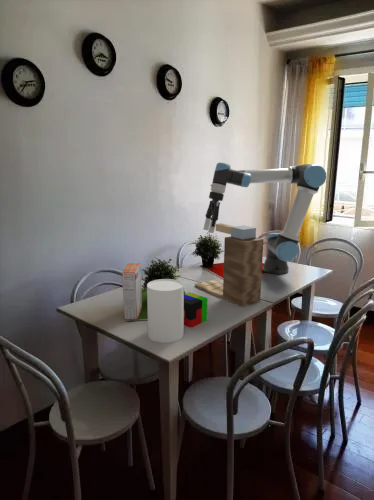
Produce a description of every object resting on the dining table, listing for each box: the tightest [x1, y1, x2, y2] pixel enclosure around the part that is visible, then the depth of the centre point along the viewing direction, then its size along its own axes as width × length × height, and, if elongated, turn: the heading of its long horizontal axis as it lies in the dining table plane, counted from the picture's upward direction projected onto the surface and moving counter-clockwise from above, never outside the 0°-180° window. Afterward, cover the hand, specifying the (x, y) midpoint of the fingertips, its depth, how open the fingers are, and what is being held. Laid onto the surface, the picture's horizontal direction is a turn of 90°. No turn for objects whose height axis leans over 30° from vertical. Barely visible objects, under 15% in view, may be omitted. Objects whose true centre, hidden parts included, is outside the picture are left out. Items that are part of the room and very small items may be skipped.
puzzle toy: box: [184, 292, 208, 329], centre depth 155 cm, size 10×10×10 cm
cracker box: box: [121, 262, 143, 321], centre depth 161 cm, size 14×6×21 cm, turn 178°
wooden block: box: [222, 236, 264, 308], centre depth 177 cm, size 12×13×30 cm
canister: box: [146, 278, 185, 344], centre depth 142 cm, size 14×14×20 cm
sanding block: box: [215, 222, 257, 241], centre depth 178 cm, size 8×22×5 cm, turn 35°
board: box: [194, 279, 223, 299], centre depth 194 cm, size 13×21×1 cm, turn 35°
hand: (208, 231), depth 203 cm, fingers open, 13 cm apart
